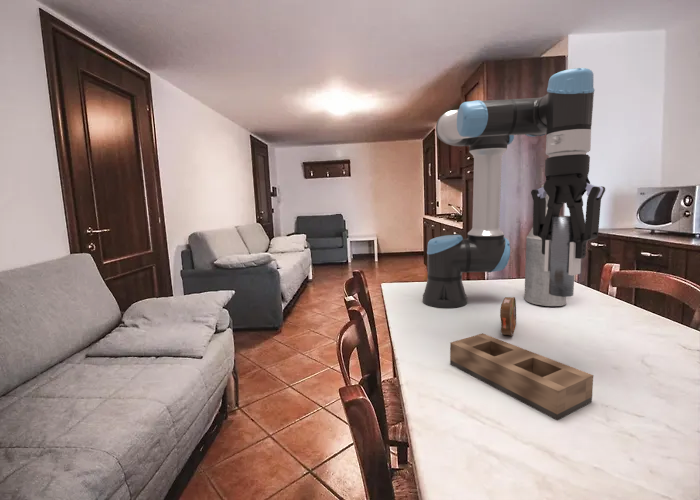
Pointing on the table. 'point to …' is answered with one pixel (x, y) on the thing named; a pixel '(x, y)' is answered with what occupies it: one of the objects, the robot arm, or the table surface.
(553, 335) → the table surface
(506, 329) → the tin
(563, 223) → the pin
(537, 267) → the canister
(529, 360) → the bore block
